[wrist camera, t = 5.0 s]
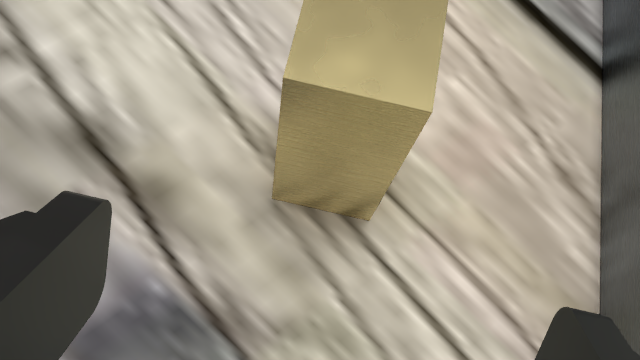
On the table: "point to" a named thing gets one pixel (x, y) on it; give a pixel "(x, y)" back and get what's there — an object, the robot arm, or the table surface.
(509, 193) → the table surface
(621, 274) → the rack rail
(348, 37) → the brass peg
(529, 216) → the table surface
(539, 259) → the table surface
